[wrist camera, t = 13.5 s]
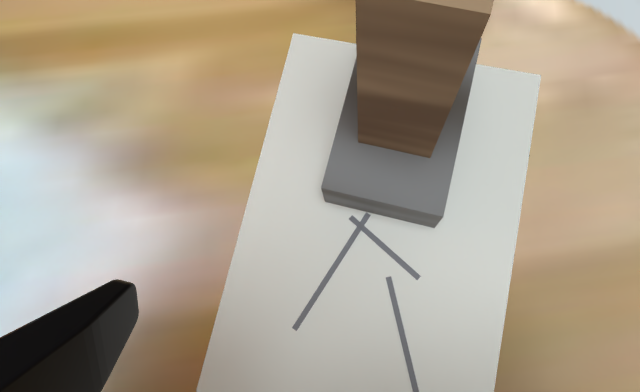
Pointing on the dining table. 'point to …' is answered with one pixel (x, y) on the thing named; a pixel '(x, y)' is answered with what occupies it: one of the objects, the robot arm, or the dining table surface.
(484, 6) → the brown post on stand
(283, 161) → the primed board
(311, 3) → the dining table surface
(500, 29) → the dining table surface
